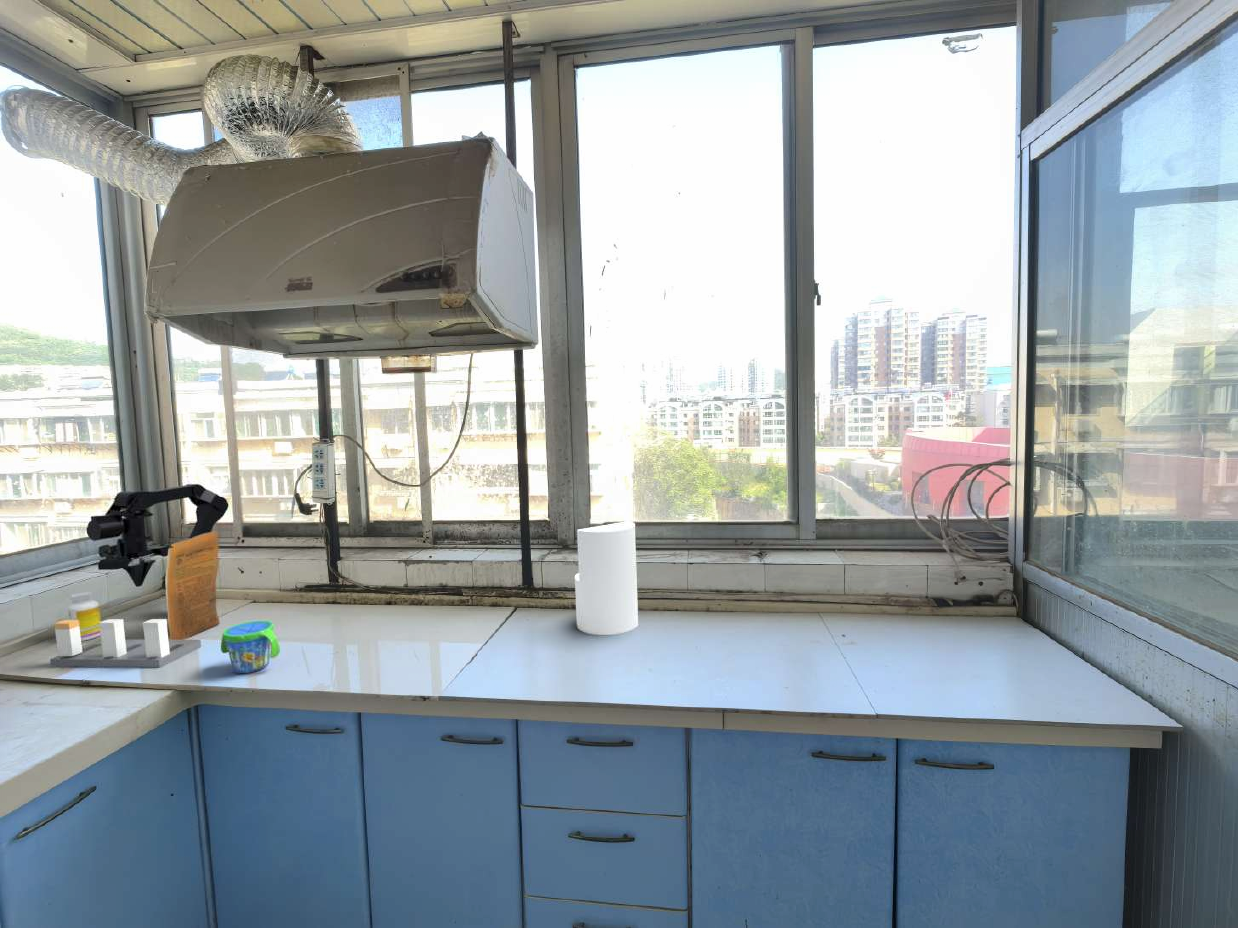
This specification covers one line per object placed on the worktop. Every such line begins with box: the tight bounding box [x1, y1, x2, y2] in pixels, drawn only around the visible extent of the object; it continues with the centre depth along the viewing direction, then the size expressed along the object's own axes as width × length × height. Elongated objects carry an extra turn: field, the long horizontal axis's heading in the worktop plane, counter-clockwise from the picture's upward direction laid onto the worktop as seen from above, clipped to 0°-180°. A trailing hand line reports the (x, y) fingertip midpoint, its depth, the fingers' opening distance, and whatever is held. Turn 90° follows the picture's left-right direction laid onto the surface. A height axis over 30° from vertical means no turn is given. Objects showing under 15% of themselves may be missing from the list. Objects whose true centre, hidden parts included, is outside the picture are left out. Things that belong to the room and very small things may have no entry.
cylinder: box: [574, 520, 639, 636], centre depth 166 cm, size 17×17×28 cm
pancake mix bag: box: [165, 530, 220, 640], centre depth 172 cm, size 7×19×28 cm, turn 170°
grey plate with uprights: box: [49, 618, 202, 669], centre depth 156 cm, size 13×30×11 cm, turn 85°
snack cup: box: [220, 620, 281, 674], centre depth 145 cm, size 16×10×10 cm
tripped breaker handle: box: [53, 619, 83, 656], centre depth 152 cm, size 3×4×8 cm, turn 84°
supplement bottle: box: [67, 591, 102, 642], centre depth 171 cm, size 7×7×13 cm
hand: (138, 586), depth 175 cm, fingers closed
